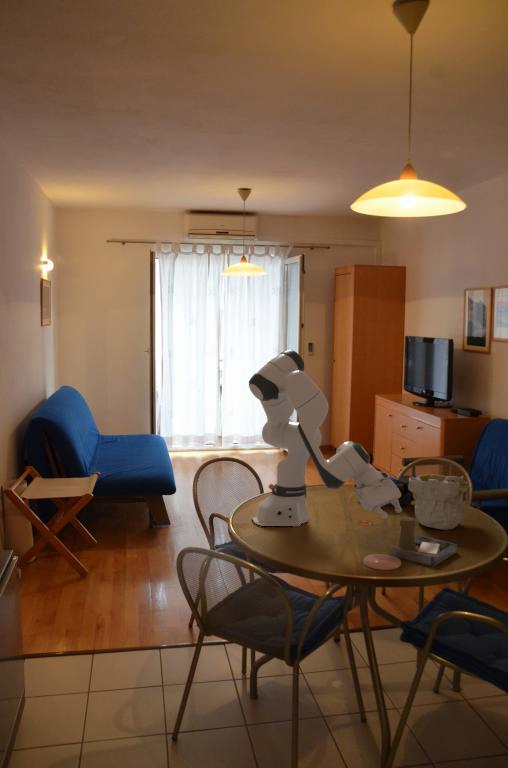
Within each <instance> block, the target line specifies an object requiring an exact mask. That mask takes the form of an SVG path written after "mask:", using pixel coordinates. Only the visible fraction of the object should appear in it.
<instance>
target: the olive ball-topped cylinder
mask: <svg viewBox="0 0 508 768" xmlns="http://www.w3.org/2000/svg"><path fill="white" fill-rule="evenodd" d="M399 526H400V527H401V529H400V534H399V539H398V546H397V547H399V548H403V549H407V550H411V551H415V552H417V548H416V543H415V537H414V534H415V530H414V528H415V527H416V521H415V519H414V518H412V517H401V519H400V521H399Z"/></svg>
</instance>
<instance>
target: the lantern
mask: <svg viewBox="0 0 508 768" xmlns="http://www.w3.org/2000/svg"><path fill="white" fill-rule="evenodd" d="M388 479H391V480H392V481H393V482H394V484H395V485H396V486H397V488H398V489H399V491H400V492H401V497H400V498H399V499H398V501H399V505H400V507H401V508H402V511H403V510H404V509H406V508H407V507H409V506H411V504H412V502H413V501H416V498H415V497H414V493H413V492H411V491H410V490H409V489H408V486H409V481H407V482H403V481H401V480H398V479H397V478H394V477H393V476H392V477H391V476H390V477H389V478H388ZM400 484H401V485H400ZM355 487H356V484H355V483H354V488H355ZM387 505H390V506H393V505H392V503H388V504H386V505H383V506H382V508H385V506H387Z"/></svg>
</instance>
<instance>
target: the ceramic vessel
mask: <svg viewBox="0 0 508 768" xmlns="http://www.w3.org/2000/svg"><path fill="white" fill-rule="evenodd" d="M408 482H409V486H408V489H409V490H410V491H411V492H413V495H414V494H415V496H416V498H415V500H414V501H415V502H414V515H415V518H416V520H417V521H418V522H419V524H420V525H422V526H424V527H427V528H433V529H437V530H441V531H449V529H450V530H453V529H455V528H457V526H458V525H459V524H460V523H461V521H462V519H463V505H464V504H466V503H468V502H469V500H468V490H469V486H468V485H469V484H468V482H467V481H466V480H465V477H464V475H462V476H456V475H449V476H448V475H447V476H446V475H443V474H442V475H441V474H434V473H430V474H429V473H428V474H427V473H426V474H421V475H417V476H416V477H415V476H410V477H409V478H408Z"/></svg>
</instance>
